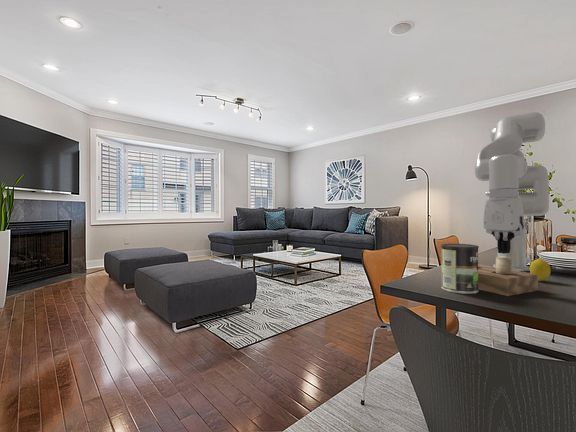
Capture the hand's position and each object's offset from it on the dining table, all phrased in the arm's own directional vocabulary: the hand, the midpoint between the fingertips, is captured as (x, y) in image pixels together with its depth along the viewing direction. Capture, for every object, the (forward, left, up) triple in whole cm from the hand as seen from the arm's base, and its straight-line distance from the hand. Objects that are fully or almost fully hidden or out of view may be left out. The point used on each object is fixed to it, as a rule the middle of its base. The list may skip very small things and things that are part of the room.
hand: (503, 252), depth 95 cm
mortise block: (+1, -5, -11) cm, 13 cm away
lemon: (-20, -1, -12) cm, 24 cm away
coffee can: (+13, -5, -12) cm, 18 cm away
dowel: (+1, 0, -11) cm, 11 cm away
